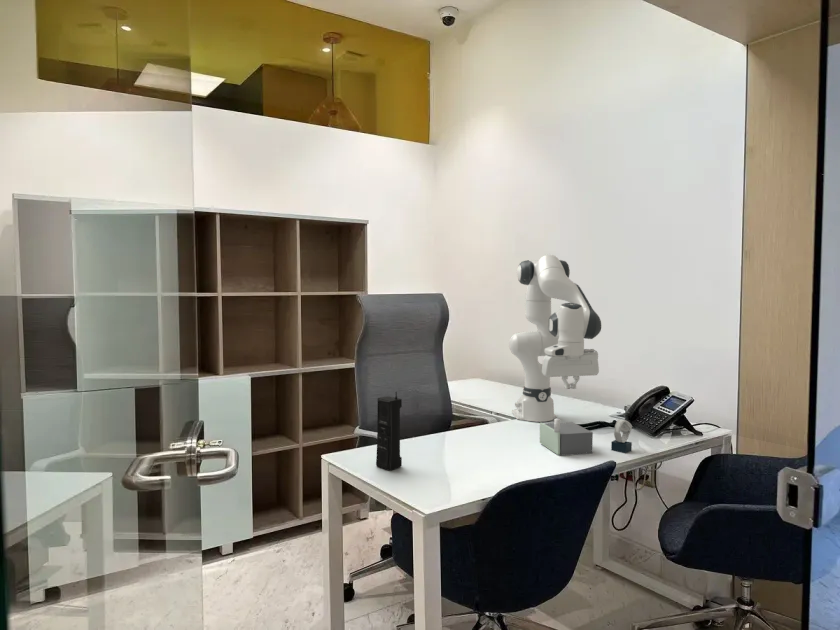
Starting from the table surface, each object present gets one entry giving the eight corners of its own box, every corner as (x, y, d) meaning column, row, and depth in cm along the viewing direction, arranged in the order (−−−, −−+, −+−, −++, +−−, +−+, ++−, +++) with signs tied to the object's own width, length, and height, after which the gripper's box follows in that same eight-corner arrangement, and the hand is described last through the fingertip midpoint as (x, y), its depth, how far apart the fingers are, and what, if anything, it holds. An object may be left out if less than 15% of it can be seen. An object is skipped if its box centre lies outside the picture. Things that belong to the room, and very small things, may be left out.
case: (542, 443, 204) (542, 423, 204) (572, 441, 207) (572, 422, 206) (560, 455, 190) (561, 434, 189) (592, 453, 192) (592, 432, 192)
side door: (538, 442, 204) (538, 410, 203) (543, 442, 204) (543, 410, 204) (556, 454, 189) (556, 420, 189) (561, 454, 190) (561, 420, 189)
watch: (633, 449, 196) (634, 419, 196) (624, 454, 191) (624, 423, 190) (618, 446, 200) (619, 417, 200) (608, 451, 195) (609, 420, 194)
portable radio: (372, 465, 179) (372, 390, 178) (386, 461, 183) (386, 388, 182) (388, 471, 173) (388, 393, 172) (402, 467, 178) (402, 391, 176)
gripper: (593, 347, 195) (592, 385, 196) (540, 349, 191) (539, 388, 192) (602, 349, 189) (602, 389, 190) (548, 351, 185) (547, 391, 186)
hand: (570, 388), depth 191 cm, fingers closed
